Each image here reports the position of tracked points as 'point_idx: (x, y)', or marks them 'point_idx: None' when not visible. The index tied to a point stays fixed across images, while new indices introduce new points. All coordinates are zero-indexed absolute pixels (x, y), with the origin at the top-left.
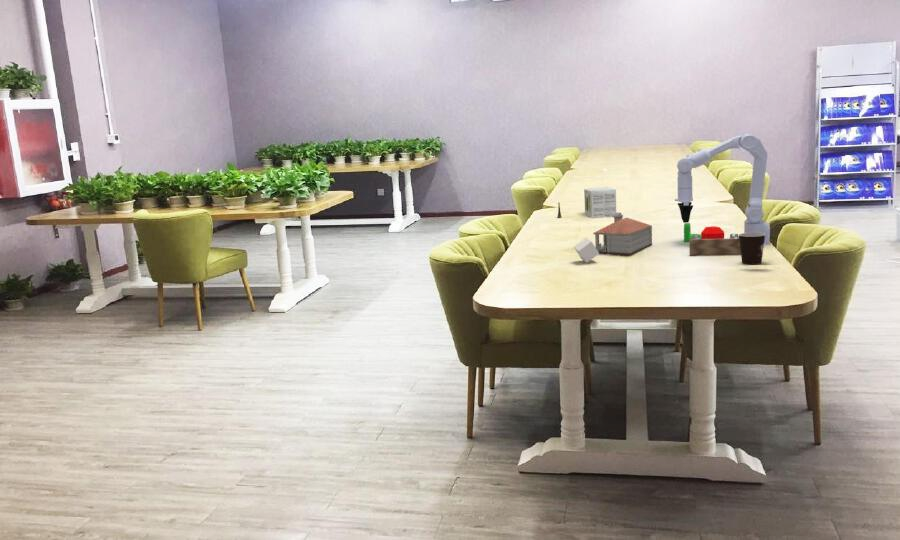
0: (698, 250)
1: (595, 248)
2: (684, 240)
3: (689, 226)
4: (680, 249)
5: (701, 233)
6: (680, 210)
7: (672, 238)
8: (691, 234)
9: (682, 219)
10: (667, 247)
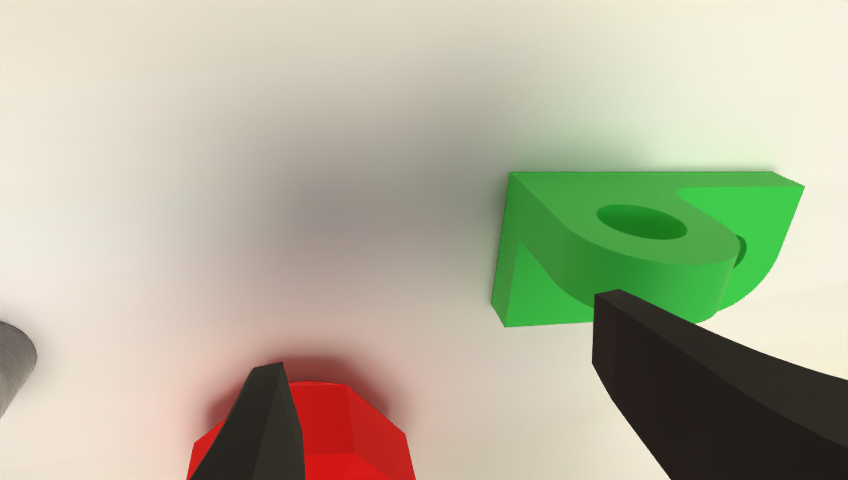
0: None
1: None
2: (517, 184)
3: None
4: (26, 193)
5: None
6: (729, 388)
7: (795, 18)
8: (753, 228)
9: (263, 393)
10: (148, 17)
